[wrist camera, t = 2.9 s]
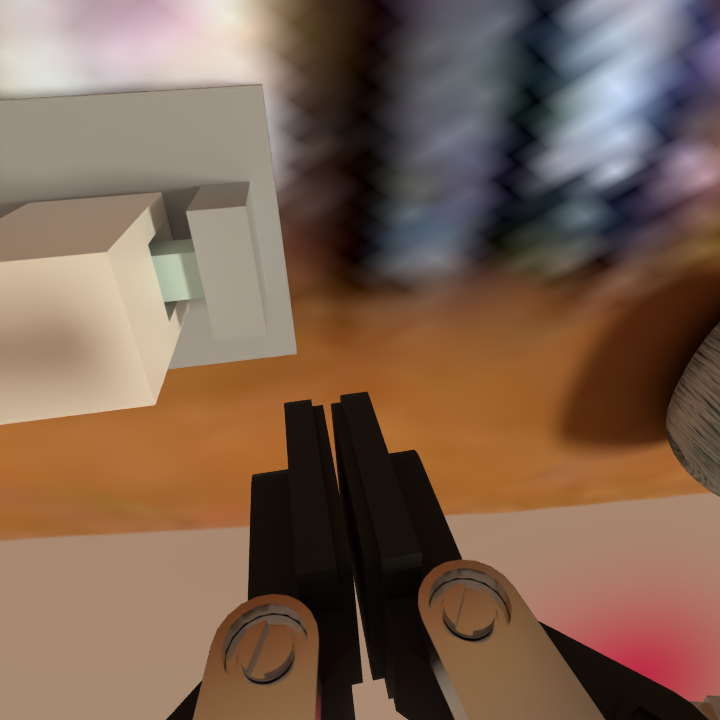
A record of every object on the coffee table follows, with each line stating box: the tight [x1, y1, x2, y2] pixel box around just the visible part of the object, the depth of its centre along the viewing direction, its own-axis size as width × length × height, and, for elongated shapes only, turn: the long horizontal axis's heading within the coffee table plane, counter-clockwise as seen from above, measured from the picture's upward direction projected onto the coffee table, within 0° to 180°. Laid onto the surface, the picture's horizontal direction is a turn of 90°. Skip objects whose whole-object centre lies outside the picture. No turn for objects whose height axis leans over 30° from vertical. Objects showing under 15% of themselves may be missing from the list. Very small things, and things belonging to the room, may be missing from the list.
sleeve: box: [0, 192, 189, 425], centre depth 18 cm, size 5×5×8 cm
